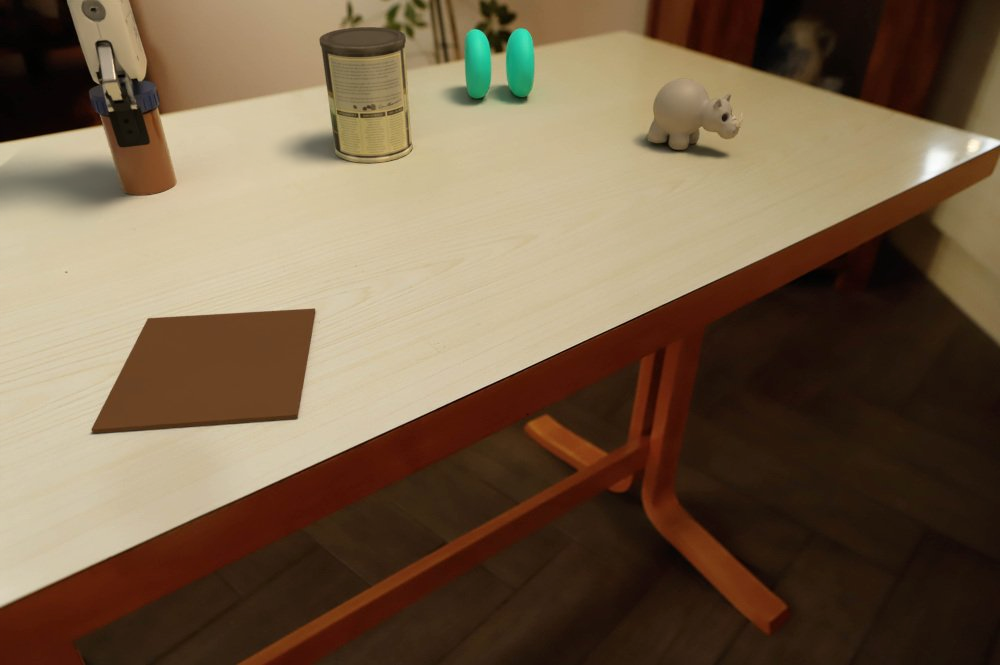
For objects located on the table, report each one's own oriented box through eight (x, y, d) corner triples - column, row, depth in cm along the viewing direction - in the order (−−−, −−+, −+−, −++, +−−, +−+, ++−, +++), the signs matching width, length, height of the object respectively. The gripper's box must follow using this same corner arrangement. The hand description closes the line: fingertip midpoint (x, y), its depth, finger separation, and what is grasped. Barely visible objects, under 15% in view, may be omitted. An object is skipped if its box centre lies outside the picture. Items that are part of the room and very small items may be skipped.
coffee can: (319, 147, 95) (303, 35, 87) (383, 130, 101) (374, 23, 93) (362, 170, 89) (349, 51, 81) (428, 150, 95) (422, 37, 87)
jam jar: (115, 196, 83) (85, 103, 76) (131, 175, 87) (104, 87, 81) (169, 194, 83) (144, 101, 77) (182, 174, 88) (160, 85, 82)
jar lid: (159, 111, 78) (155, 94, 77) (91, 118, 76) (85, 100, 75) (160, 94, 84) (156, 77, 82) (96, 99, 82) (91, 82, 80)
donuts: (464, 88, 118) (463, 22, 112) (525, 86, 119) (526, 21, 113) (469, 107, 110) (468, 38, 104) (534, 105, 110) (536, 36, 105)
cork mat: (92, 433, 50) (90, 429, 50) (149, 321, 62) (147, 317, 61) (297, 418, 52) (296, 414, 51) (315, 312, 63) (315, 308, 63)
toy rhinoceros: (722, 166, 91) (735, 98, 86) (638, 144, 97) (646, 80, 92) (745, 150, 95) (759, 85, 90) (664, 130, 101) (673, 68, 96)
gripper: (121, -30, 66) (171, 155, 76) (129, -54, 79) (172, 106, 90) (28, -25, 64) (93, 165, 74) (53, -51, 77) (105, 113, 87)
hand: (136, 131), depth 82 cm, fingers open, 7 cm apart
